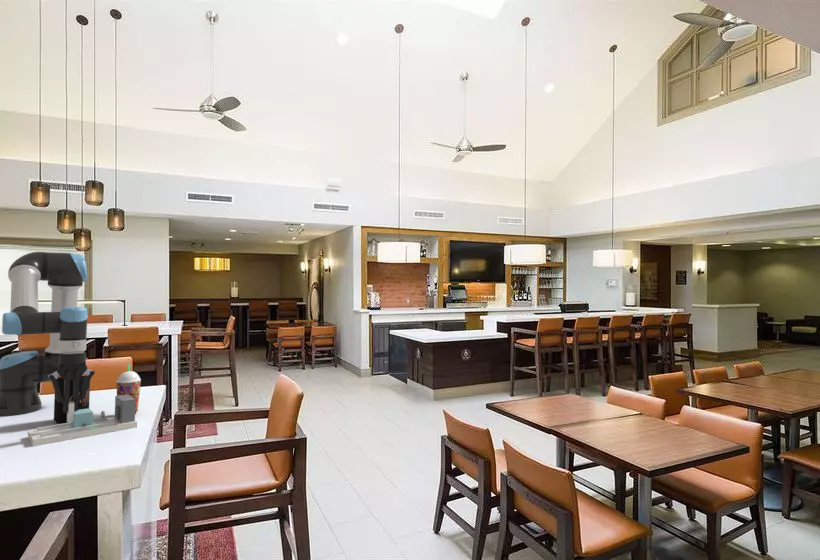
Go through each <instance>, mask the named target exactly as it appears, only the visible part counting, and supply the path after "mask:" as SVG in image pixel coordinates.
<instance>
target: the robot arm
mask: <svg viewBox="0 0 820 560" xmlns="http://www.w3.org/2000/svg"><path fill="white" fill-rule="evenodd" d="M86 263H87V262H86V259H85V256H84V255H82V254H79V253H72V252H48V251H47V252H45V251H32V252H29V253H26V254H23V255H22V256H19V258H17V259H15V260H14V261H13V262H12V263H11V265H10V267H9V269H8V272H7V273H8V274H7V277H8V280H9V281H10V282H11V283H10V284H11V285H10V309H9V312H4V313H3V314H2V319H1V320H2V324H1V325H2V326H1V332H2V334H3V335H5V336H7V335H8V336H9V335H10V336H12V335H13V336H14V335H16V336H22V335H43V334H45V335H46V334H49V345H48V347H46V348H45V349H44V353H41V354H39V352H38V351H37V350H31V351H29V350H28V351H27V350H26V351H20V352H17V353H16V352H15V353H11V354H7V355H4V356H3V357H1V358H0V417H1V416H3V417H5V416H16V415H17V416H18V415H23V414H28V413H33V412H37V411H39V410H41V409H42V400H41V398H40V396H39V393H38V390H37V388H38V384H39V383H50V382H51V384H52V387H53V391H54V396H55V395H56V398H57V401H58V402H61V403H64V408H63V411H64V413H67V422H68V423H71V422H74V412H75V411H77V410H78V402H79V401H80V400H83V399H85V396H86V393H87V389H88V386H89V383H90V384H91V379H92V377H93V376H94V375H95V373H96V372H95V370H91V369H89V368H88V366H87V353H86V352H85V351H87V333H88V319H89V316H88V308H87V307H84V306H83V307H82V306H78V299H79V298H78V294H79V290H80V289H81V288H82V287H83V285H84V284H83V282H84V283H85V282H87V281H88V270H87V264H86ZM39 281H41V282H42V281H46V282H47V286H48V287H49V288H50V289H51V311H39V294H38V293H39V290H38V289H39V288H38V287H39V285H38V284H39ZM85 372H86V373H85ZM84 373H85V374H86V377H85V380H84V383H83V386H82V390H81V393H80V396H79V379H80V377H81V376H82V375H83V374H84ZM58 374H59V375H60V376H61V377H62V378H63V379H64V398H62V396H61V392H60V389H59V385H58V382H57V380H56V379H57V378H58V376H57V375H58ZM72 379H73V401H72V402H69V393H70V380H72Z"/></svg>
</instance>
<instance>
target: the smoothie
mask: <svg viewBox="0 0 820 560" xmlns="http://www.w3.org/2000/svg"><path fill="white" fill-rule="evenodd" d="M127 367H128V368H127V371H124V372H123V373H121V374H119V376H118V377H117V380H115V382H116V396H120V395H127V394H128V395H129V396H131V397H133V398H134V399H135V415H136V414H137V412H138V411H139V405H140V403H139V402H140V391H141V383H142V382H141V381H142V379H141V377H140V375H139V374H138V373H137V372H135V371H133V370H131V364H130V363H128V364H127Z"/></svg>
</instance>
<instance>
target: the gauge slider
mask: <svg viewBox="0 0 820 560" xmlns="http://www.w3.org/2000/svg"><path fill="white" fill-rule="evenodd" d="M105 417H106V412H105V410H102V411H101V412H97V413H96V412H95V413H94V412H93V410H92V409H91V408H90V407H89V408H88V409H81V410H77V411H75V412H74V422H71V426H72V427H73V428H76V427H82V426H84V427H85V426H88V425H92V424H93V419H95V418H102V419H103V418H105Z"/></svg>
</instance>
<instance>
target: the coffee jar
mask: <svg viewBox="0 0 820 560" xmlns="http://www.w3.org/2000/svg"><path fill="white" fill-rule="evenodd" d="M85 373H86V372H85ZM85 373H84V374H83V375H82V376H81V377H80V379H79V396H80V393H81V390H82V386H83V383H84V380H85V377H86V374H85ZM57 376H58V378H57V379H56V380H57V382H58V385H59V389H60V392H61V396H62V398H64V379H63V378H62V377H61V376H60V375H59V374H58V375H57ZM90 391H91V382H90V383H89V386H88V389H87V393H86V396H85V399H83V400H80V401H79V402H78V410H81V409H88V408H89V409H90V397H91V396H90V393H91V392H90ZM72 401H73V379H72V380H70V393H69V402H72ZM53 402H54V403H53V405H54V406H53V421H54V422H55V423H56V424H63V423H68V422H67V413H64V411H63V408H64V403H61V402H58V401H57V398H56V395H55V394H54V401H53Z"/></svg>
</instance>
